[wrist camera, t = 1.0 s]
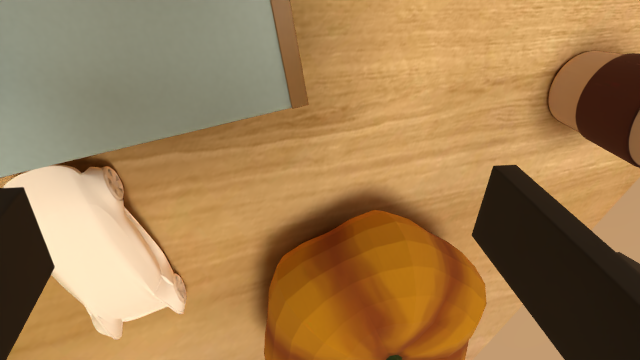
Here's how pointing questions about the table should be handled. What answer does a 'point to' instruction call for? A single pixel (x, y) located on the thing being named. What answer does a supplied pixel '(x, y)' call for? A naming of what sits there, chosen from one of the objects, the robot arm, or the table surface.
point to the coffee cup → (601, 101)
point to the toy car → (100, 246)
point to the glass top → (137, 72)
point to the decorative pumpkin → (373, 295)
